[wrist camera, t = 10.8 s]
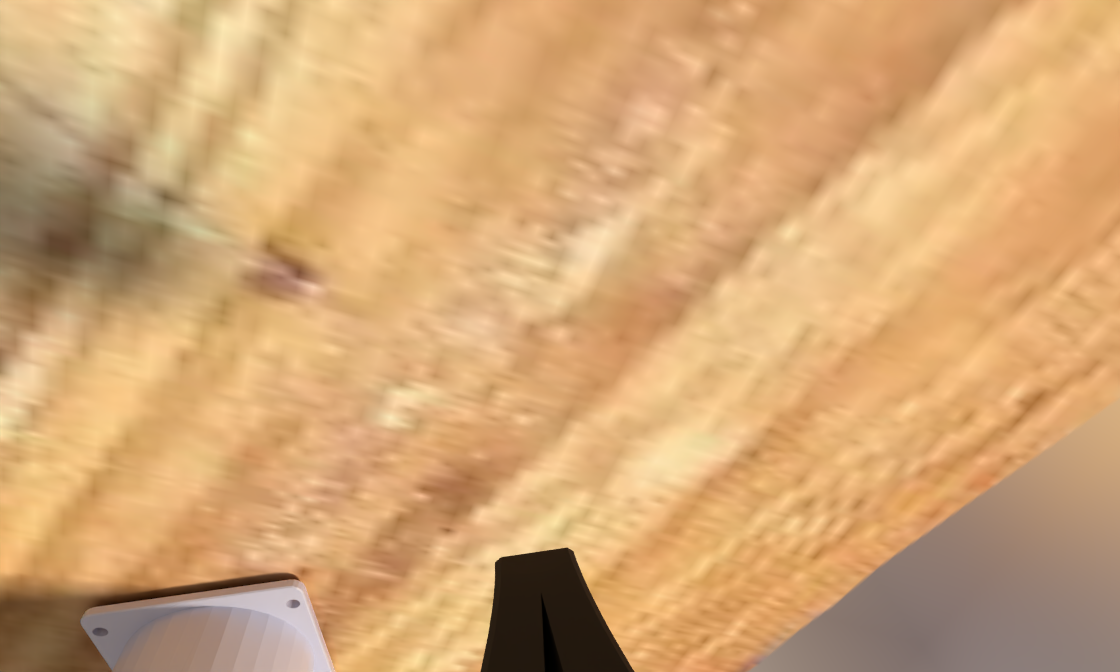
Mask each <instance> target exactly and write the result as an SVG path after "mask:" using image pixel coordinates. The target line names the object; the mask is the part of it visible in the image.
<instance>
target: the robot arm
mask: <svg viewBox="0 0 1120 672" xmlns="http://www.w3.org/2000/svg"><path fill="white" fill-rule="evenodd" d="M80 623H81V626H82V627H83V628H84V630H85V631H86V633H87V634H88V636H89V637H90V639H91V640H92V642H93V643H94V645H95V646H96V648H97V649H98V651H99V652H100V654H101V655H102V657H103V658H104V659H105V661H106V662H107V664H108V665H109V667H110V668H111V670H112V672H335V669H334V666H333V663H332V661H331V658H330V655H329V652H328V649H327V646H326V644H325V641H324V638H323V635H322V632H321V630H320V627H319V624H318V621H317V618H316V615H315V613H314V610H313V607H312V604H311V601H310V598H309V596H308V593H307V590H306V587H305V585H304V584H303V583H302V582H300V581H299V580H295V579H289V580H282V581H275V582H268V583H261V584H254V585H247V586H240V587H233V588H226V589H218V590H211V591H204V592H197V593H190V594H183V595H176V596H169V597H162V598H155V599H148V600H140V601H133V602H126V603H119V604H112V605H105V606H98V607H93V608H89V609H88V610H86V611H85V613H84V615H83V616H82V618H81V620H80ZM481 672H634V670H633V669H632V667H631V666H630V664H629V662H628V660H627V659H626V657H625V655H624V654H623V652H622V650H621V648H620V647H619V645H618V643H617V642H616V640H615V638H614V637H613V635H612V633H611V631H610V630H609V628H608V626H607V624H606V622H605V620H604V619H603V617H602V615H601V613H600V611H599V609H598V607H597V605H596V603H595V601H594V599H593V597H592V595H591V593H590V591H589V589H588V587H587V584H586V582H585V580H584V578H583V575H582V573H581V571H580V568H579V566H578V563H577V561H576V558H575V555H574V552H573V551H572V550H570V549H569V548H562V549H555V550H548V551H541V552H534V553H528V554H521V555H514V556H507V557H501V558H500V559H499V560H497V561H496V562H495V588H494V599H493V607H492V615H491V621H490V627H489V634H488V639H487V644H486V649H485V653H484V658H483V663H482V668H481Z"/></svg>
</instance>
